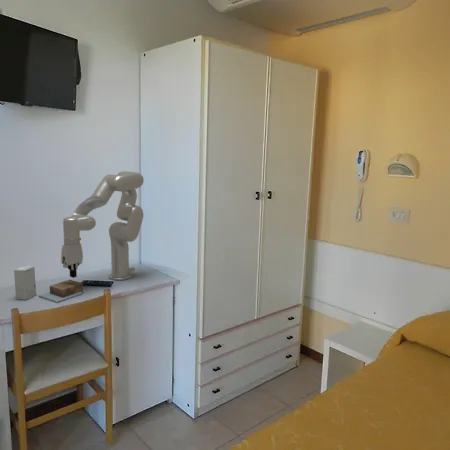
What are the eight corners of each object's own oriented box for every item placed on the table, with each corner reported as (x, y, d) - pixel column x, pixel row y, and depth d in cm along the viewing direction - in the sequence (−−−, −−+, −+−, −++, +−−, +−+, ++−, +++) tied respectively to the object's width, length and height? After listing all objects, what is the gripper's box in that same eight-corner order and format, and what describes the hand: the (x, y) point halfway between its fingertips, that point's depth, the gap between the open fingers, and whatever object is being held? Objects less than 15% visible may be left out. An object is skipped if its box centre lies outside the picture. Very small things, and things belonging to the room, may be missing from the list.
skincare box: (26, 300, 203) (24, 270, 200) (15, 299, 203) (13, 269, 201) (36, 294, 211) (35, 265, 208) (25, 293, 212) (23, 264, 209)
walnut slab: (69, 279, 219) (49, 285, 209) (82, 283, 214) (62, 289, 204) (70, 286, 220) (49, 293, 210) (83, 290, 215) (63, 297, 205)
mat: (64, 288, 220) (64, 287, 220) (83, 294, 213) (83, 292, 213) (39, 296, 207) (38, 295, 207) (57, 303, 200) (57, 301, 200)
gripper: (79, 238, 220) (80, 272, 223) (54, 243, 207) (55, 279, 211) (89, 240, 216) (90, 274, 219) (64, 245, 203) (65, 282, 207)
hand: (73, 276), depth 215 cm, fingers closed
